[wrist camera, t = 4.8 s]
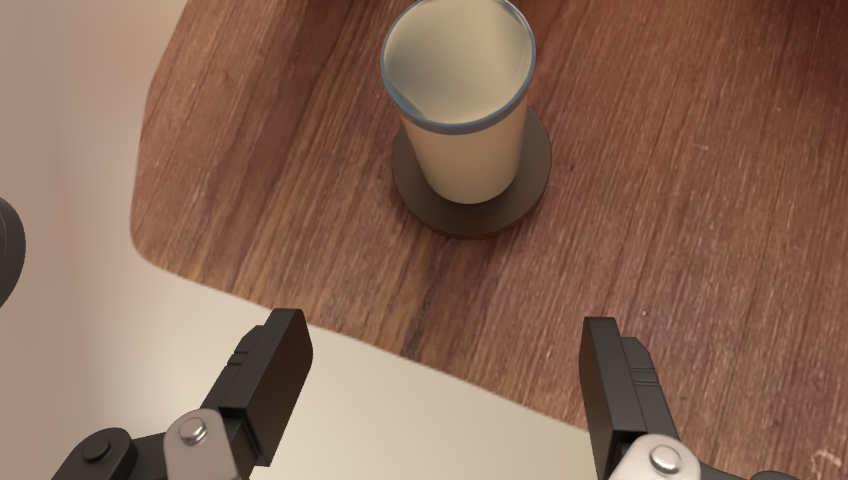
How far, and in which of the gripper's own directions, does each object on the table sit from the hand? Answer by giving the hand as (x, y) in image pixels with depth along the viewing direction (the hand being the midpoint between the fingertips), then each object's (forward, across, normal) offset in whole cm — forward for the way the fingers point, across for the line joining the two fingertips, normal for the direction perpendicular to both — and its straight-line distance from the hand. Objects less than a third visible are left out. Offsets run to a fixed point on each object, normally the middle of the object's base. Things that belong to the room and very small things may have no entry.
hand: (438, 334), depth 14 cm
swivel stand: (+20, 0, +4) cm, 20 cm away
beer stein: (+19, 0, +1) cm, 19 cm away
